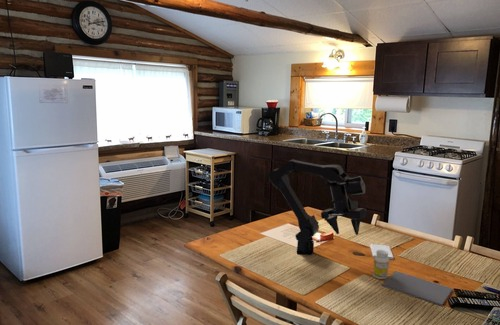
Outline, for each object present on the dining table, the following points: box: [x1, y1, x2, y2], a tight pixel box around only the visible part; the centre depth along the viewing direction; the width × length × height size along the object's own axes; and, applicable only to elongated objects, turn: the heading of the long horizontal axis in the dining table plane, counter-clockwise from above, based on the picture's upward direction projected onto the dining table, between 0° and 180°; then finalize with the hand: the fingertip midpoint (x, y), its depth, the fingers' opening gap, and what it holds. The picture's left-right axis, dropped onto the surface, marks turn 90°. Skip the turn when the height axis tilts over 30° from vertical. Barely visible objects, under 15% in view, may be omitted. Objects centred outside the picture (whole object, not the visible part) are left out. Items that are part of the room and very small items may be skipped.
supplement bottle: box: [372, 250, 390, 280], centre depth 144 cm, size 5×5×10 cm
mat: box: [380, 270, 453, 307], centre depth 137 cm, size 20×14×1 cm
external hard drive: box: [369, 243, 395, 260], centre depth 167 cm, size 2×8×12 cm
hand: (347, 234), depth 156 cm, fingers open, 9 cm apart
